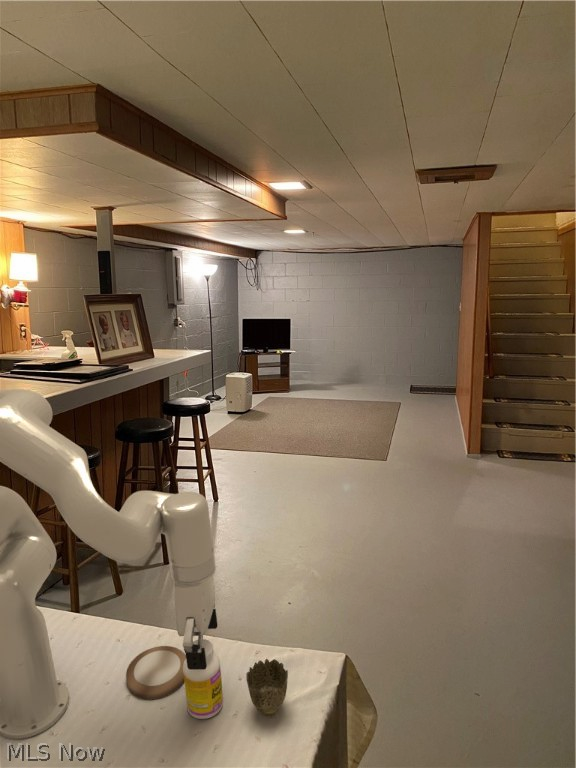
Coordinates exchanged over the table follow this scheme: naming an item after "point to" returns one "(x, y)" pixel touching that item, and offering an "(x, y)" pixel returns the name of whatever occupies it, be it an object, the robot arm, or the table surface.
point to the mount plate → (156, 672)
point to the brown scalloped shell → (267, 686)
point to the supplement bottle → (204, 685)
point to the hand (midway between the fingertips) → (203, 647)
